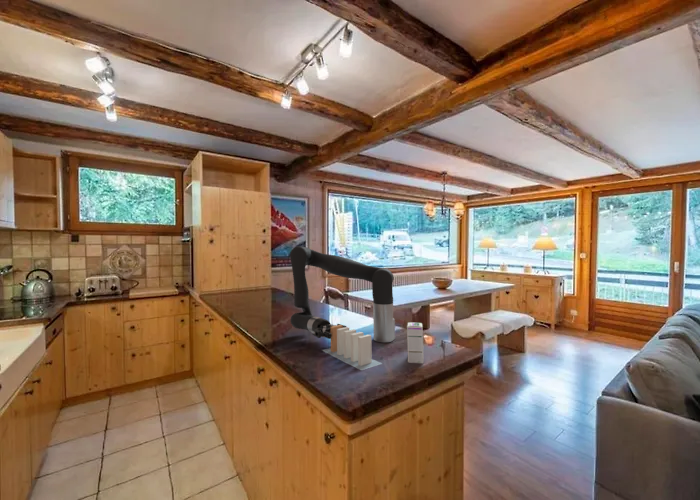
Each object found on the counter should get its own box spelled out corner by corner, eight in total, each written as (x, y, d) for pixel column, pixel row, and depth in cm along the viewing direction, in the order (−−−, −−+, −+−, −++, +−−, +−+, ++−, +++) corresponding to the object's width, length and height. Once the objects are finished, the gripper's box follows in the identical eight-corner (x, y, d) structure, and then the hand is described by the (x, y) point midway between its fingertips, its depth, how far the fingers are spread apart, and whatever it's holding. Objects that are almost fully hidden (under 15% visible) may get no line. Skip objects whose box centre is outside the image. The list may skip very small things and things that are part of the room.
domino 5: (368, 361, 113) (368, 334, 113) (371, 362, 111) (371, 335, 111) (358, 364, 110) (358, 336, 110) (361, 365, 108) (360, 337, 108)
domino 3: (354, 354, 120) (353, 329, 120) (356, 355, 119) (356, 330, 118) (343, 357, 117) (343, 331, 117) (346, 358, 116) (345, 332, 115)
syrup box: (423, 366, 110) (423, 326, 110) (407, 365, 111) (406, 325, 111) (423, 360, 116) (423, 322, 116) (407, 359, 117) (407, 321, 117)
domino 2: (347, 351, 123) (347, 326, 123) (349, 352, 122) (349, 327, 122) (337, 354, 120) (336, 329, 120) (339, 355, 119) (339, 329, 119)
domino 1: (340, 348, 127) (340, 324, 127) (342, 349, 126) (342, 325, 126) (330, 351, 124) (330, 326, 124) (332, 352, 123) (332, 327, 123)
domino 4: (361, 357, 116) (360, 331, 116) (363, 359, 115) (363, 332, 115) (350, 360, 113) (350, 334, 113) (353, 362, 112) (353, 335, 112)
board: (341, 347, 131) (341, 345, 131) (382, 366, 110) (382, 363, 110) (321, 352, 125) (321, 350, 125) (361, 373, 104) (361, 370, 104)
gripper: (304, 320, 132) (324, 328, 119) (332, 315, 141) (353, 322, 128) (304, 337, 132) (324, 347, 119) (332, 331, 141) (353, 340, 128)
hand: (339, 334), depth 123 cm, fingers open, 8 cm apart
